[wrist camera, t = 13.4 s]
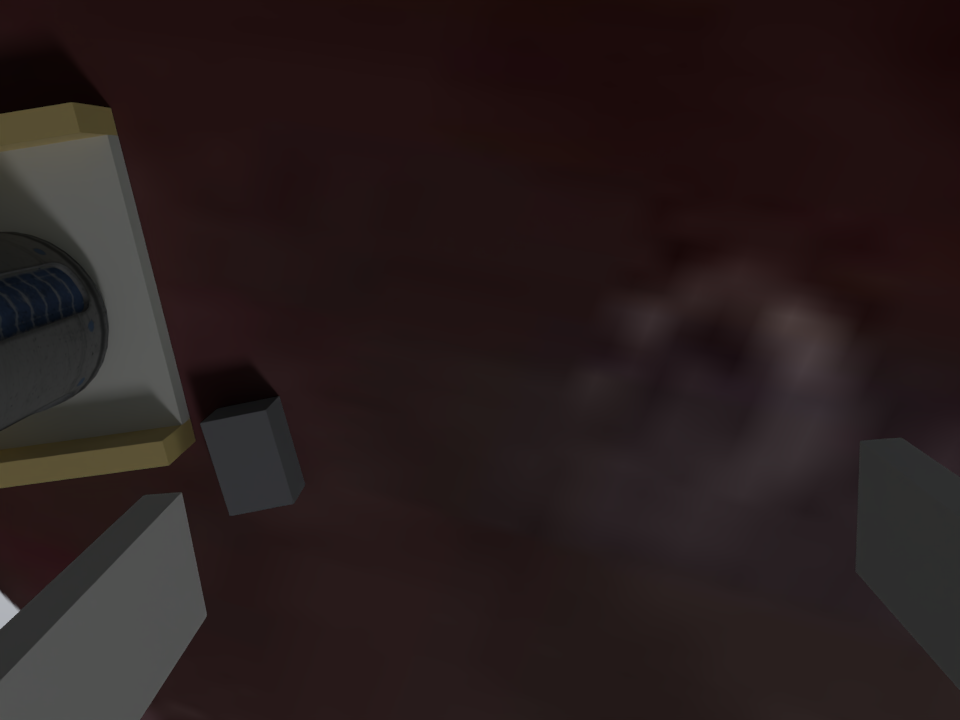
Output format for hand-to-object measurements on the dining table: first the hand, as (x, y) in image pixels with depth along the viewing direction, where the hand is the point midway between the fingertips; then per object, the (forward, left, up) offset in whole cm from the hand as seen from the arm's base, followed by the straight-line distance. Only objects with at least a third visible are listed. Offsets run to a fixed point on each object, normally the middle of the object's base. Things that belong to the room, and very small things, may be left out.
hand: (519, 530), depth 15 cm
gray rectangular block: (+8, -16, -31) cm, 36 cm away
